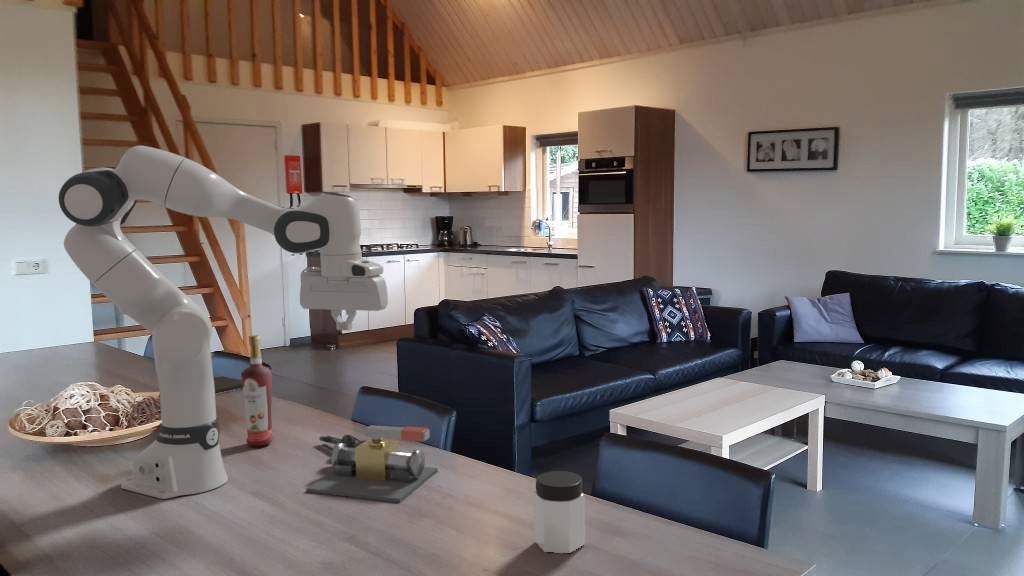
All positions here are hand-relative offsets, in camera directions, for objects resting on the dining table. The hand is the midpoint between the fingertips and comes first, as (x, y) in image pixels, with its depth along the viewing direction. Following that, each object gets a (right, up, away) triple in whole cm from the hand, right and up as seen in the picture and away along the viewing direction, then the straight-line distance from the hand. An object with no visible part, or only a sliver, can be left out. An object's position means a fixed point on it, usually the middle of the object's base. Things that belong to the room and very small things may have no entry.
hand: (344, 329), depth 170 cm
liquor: (-27, -31, +28) cm, 50 cm away
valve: (-1, -31, +19) cm, 36 cm away
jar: (+45, -36, -33) cm, 67 cm away
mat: (+7, -33, 0) cm, 34 cm away
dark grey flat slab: (-64, -26, +86) cm, 110 cm away
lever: (+12, -25, -1) cm, 27 cm away
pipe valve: (+7, -33, +2) cm, 34 cm away
